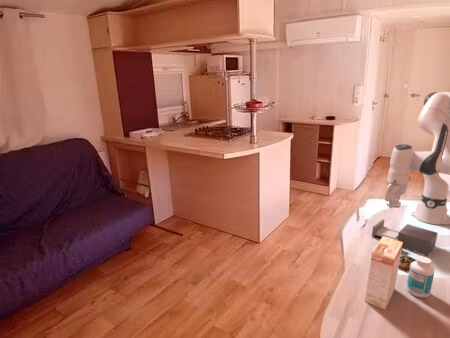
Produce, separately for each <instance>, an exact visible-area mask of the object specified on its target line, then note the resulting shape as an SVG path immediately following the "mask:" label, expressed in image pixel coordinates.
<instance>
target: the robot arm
mask: <svg viewBox="0 0 450 338" xmlns="http://www.w3.org/2000/svg"><path fill="white" fill-rule="evenodd" d="M417 124H418V126H419V128H420V129H422V130H423V132H425V133H427V134H429V135H430V136H433V137H434V140H433V143H432V144H433V145H432V147H431V151H430V150H427V151H426V150H424V151H418V150H414V148H413V146H412V145H409V144H403V143H402V144H397V145H395V146H394V148H393V150H392V152H391V156H390V161H389V164H390V165H389V166H390V167H389V169H388V173H387V174H388V175H387V179H386V181H387V182H388V183H389V184H388V185H387V186H386V189H385V193H384V201H385V202H387V201H389V206H388V208H390V209H393V208H394V200H395V201H398V202H400V200H401V196H403V195H404V194H405V193H406V191H407V189H408V185H409V181H411V176H410V175H411V172H410V171H412V172H416V173H420V174H422V176H423V179H424V185H423V191H422V194H421V196H420V197H421V198H420V201H418V202H417V204H416V206H415V211H414V212H411V214H410V215H411V216H413V217H414V218H415V219H417V220H418V221H421V222H423V223H426V224H430V225H437V226H438V225H445V226H449V225H450V215H449V214H448V208H447V203H448V202H447V201H448V198H447V196H448V192H449V183H448V182H447V181H446V180H445V179H444V178H442V177H441V176H440V174H443V175H449V176H450V91H440V92H437V91H434V92H430V93H428V94H427V95H426V96H425V98H424V100H423V106H422V109H421V110H420V113H419V115H418V117H417Z"/></svg>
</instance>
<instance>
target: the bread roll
mask: <svg viewBox="0 0 450 338" xmlns="http://www.w3.org/2000/svg"><path fill="white" fill-rule="evenodd" d="M414 261H416V258H414V257H412V256H410V255H406V254H401V256H400V261H399V267H398V270H401V271H404V272H407V273H409V270H410V265H411V263H412V262H414Z"/></svg>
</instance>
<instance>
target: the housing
mask: <svg viewBox="0 0 450 338" xmlns="http://www.w3.org/2000/svg"><path fill="white" fill-rule="evenodd" d="M398 231H399V234H398V240H397V241H401V242H403V246H402V249H406V250H409V251H411V252H414V251H416V252H415V253H417V252H419V253H418V254H420V253H422V254H421V255H423V254H424V255H423V256H425V257H426V256H429V255H430V253H431V252H432V251H433V250H434V249H435V247H436V243H437V239H438V238H437V237H438V233H439V232H437V231H433V230H430V229H429V230H428V229H425V228H422V227H419V226H415V225H412V224H408V223H407V224H405V226H403V228H401V229H400V230H398Z"/></svg>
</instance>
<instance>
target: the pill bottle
mask: <svg viewBox="0 0 450 338" xmlns="http://www.w3.org/2000/svg"><path fill="white" fill-rule="evenodd" d="M415 260H416V261H414V262H412V263H411V265H410V270H409V272H408V276H407V280H406V282H407V283H406V290H407V292H408V293H409V294H410V295H412V296H414V297H417V298H425V299H426V298H428V297H430V295H431V290H432V286H433V282H434V276H435V267H433V266H432V259H430V258H429V257H426V256H424V255H422V256H421V255H418V256H416V258H415Z"/></svg>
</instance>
